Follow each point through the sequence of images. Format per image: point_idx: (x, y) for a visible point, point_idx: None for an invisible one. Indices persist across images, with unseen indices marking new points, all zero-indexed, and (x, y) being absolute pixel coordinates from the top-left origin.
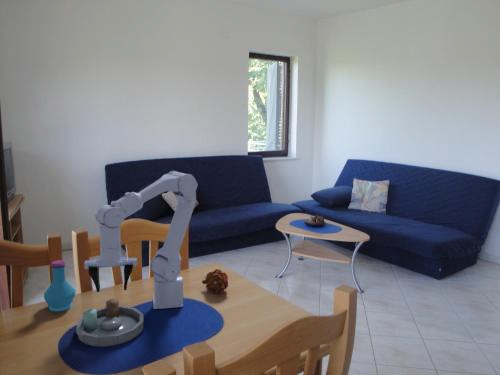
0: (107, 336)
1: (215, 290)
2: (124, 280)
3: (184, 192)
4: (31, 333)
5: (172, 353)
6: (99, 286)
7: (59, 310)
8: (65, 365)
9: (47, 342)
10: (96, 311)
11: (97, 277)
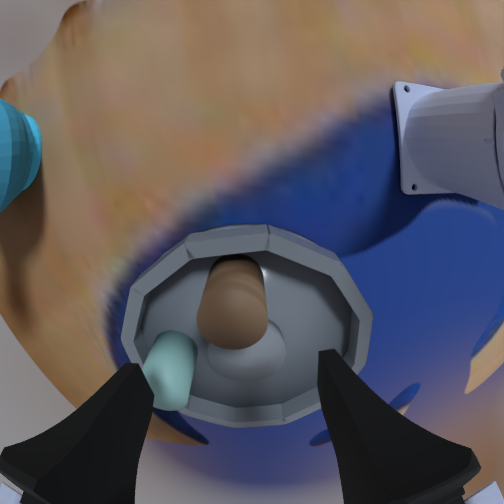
0: (257, 425)
1: None
2: (337, 456)
3: None
4: (36, 322)
5: (398, 409)
6: (137, 397)
7: (23, 189)
8: (185, 437)
9: (94, 369)
10: (187, 395)
11: (134, 497)
